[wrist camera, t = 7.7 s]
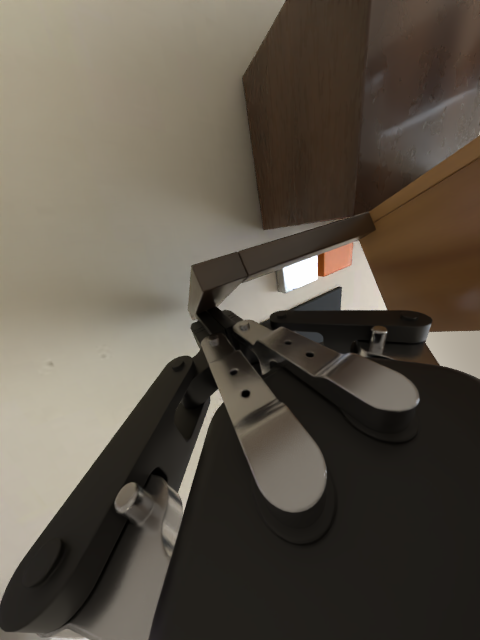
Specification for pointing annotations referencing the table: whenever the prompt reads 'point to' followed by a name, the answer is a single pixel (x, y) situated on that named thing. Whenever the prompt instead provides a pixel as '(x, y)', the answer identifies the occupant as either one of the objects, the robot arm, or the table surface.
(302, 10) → the brown wooden block
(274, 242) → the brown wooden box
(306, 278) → the plate
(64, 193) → the table surface
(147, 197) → the table surface
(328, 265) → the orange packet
